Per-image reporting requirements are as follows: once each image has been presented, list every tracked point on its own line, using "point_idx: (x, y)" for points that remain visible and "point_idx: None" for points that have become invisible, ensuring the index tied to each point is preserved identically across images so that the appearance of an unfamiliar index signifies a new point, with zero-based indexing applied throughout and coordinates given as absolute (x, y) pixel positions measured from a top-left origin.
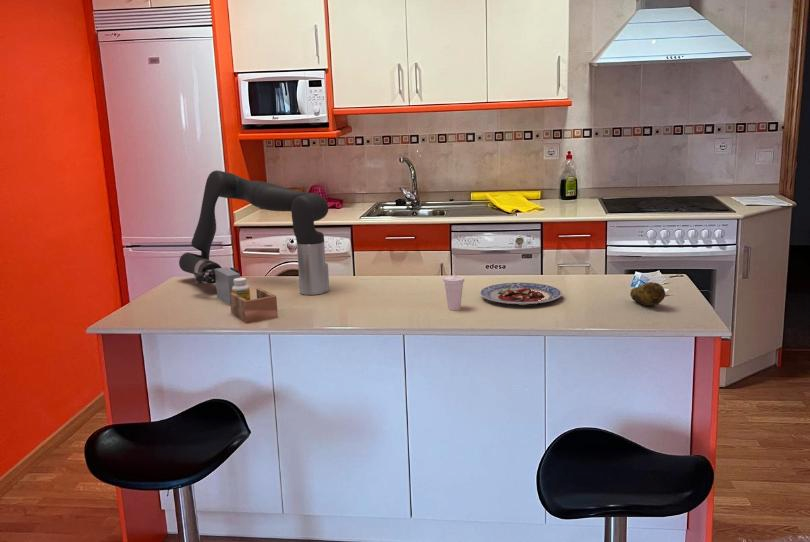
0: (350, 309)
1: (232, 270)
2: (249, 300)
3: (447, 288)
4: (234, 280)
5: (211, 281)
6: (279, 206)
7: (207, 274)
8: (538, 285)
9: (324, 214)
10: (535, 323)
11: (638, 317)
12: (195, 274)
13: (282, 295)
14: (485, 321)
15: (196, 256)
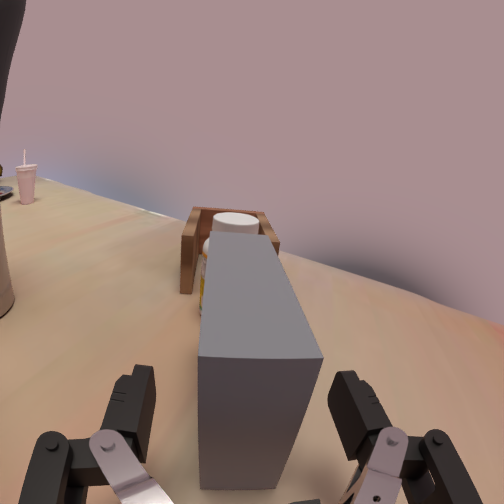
0: (76, 229)
1: (207, 271)
2: (252, 212)
3: (34, 176)
4: (257, 219)
5: (335, 387)
6: None
7: (376, 464)
8: None
9: None
10: (48, 185)
11: (16, 180)
12: (478, 496)
13: (39, 337)
14: (57, 191)
15: None
